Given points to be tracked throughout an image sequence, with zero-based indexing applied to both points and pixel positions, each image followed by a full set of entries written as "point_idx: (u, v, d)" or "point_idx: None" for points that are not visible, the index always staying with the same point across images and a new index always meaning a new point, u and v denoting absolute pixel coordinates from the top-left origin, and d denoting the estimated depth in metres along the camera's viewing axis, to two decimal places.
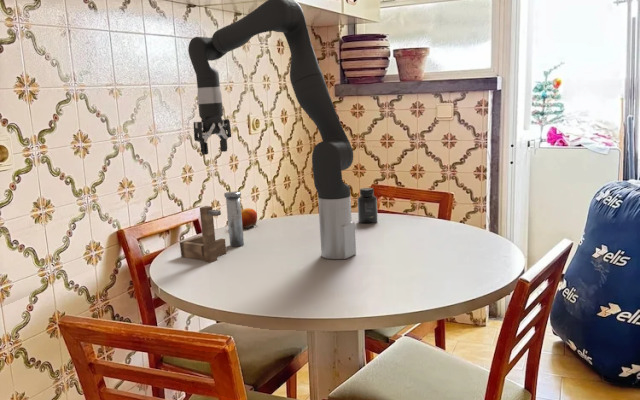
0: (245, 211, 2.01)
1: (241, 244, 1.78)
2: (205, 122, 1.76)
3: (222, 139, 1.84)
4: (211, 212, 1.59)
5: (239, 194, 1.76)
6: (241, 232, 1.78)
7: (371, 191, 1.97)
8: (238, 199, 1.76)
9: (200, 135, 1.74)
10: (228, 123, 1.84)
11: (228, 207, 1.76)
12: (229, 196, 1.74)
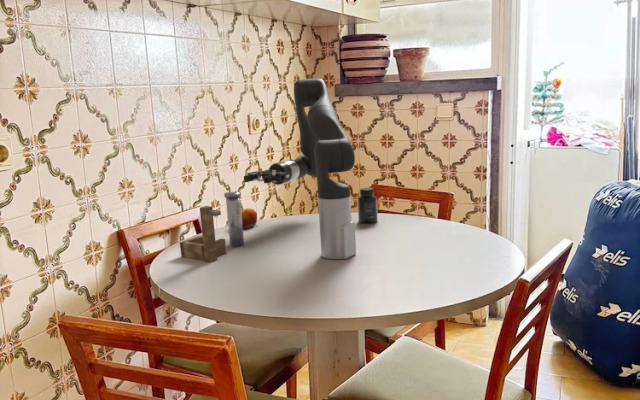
0: (245, 211, 2.01)
1: (241, 244, 1.78)
2: None
3: None
4: (211, 212, 1.59)
5: (239, 194, 1.76)
6: (241, 232, 1.78)
7: (371, 191, 1.97)
8: (238, 199, 1.76)
9: (251, 172, 1.94)
10: (285, 172, 1.89)
11: (228, 207, 1.76)
12: (229, 196, 1.74)
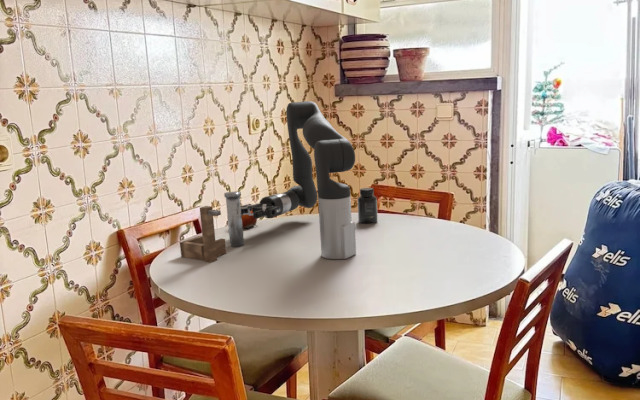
0: None
1: (241, 244, 1.78)
2: None
3: None
4: (211, 212, 1.59)
5: (239, 194, 1.76)
6: (241, 232, 1.78)
7: (371, 191, 1.97)
8: (238, 199, 1.76)
9: (241, 206, 1.90)
10: (276, 207, 1.85)
11: (228, 207, 1.76)
12: (229, 196, 1.74)
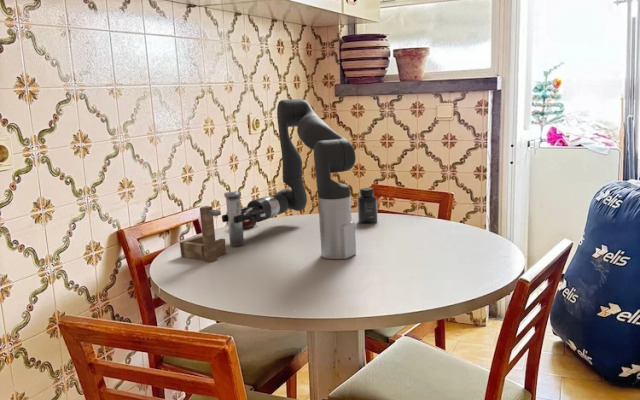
0: None
1: (241, 244, 1.78)
2: None
3: None
4: (211, 212, 1.59)
5: (239, 194, 1.76)
6: (241, 232, 1.78)
7: (371, 191, 1.97)
8: (238, 199, 1.76)
9: None
10: (260, 211, 1.79)
11: (228, 207, 1.76)
12: (229, 196, 1.74)
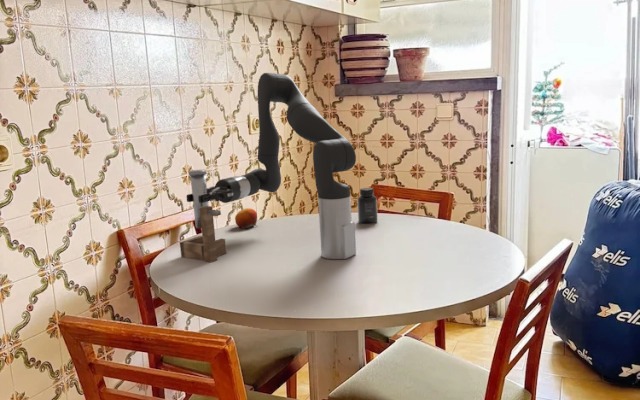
0: (245, 211, 2.01)
1: None
2: None
3: None
4: (211, 212, 1.59)
5: (204, 172, 1.65)
6: None
7: (371, 191, 1.97)
8: (203, 177, 1.66)
9: None
10: (228, 190, 1.69)
11: (193, 186, 1.66)
12: (193, 174, 1.64)
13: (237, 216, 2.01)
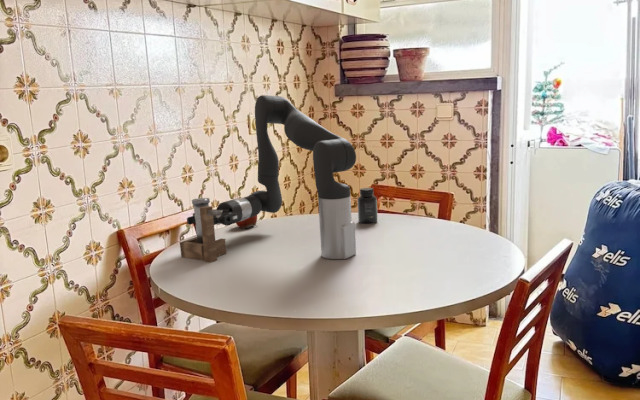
0: None
1: None
2: None
3: None
4: (211, 212, 1.59)
5: (207, 201, 1.67)
6: None
7: (371, 191, 1.97)
8: None
9: None
10: (232, 213, 1.71)
11: (196, 214, 1.67)
12: (196, 203, 1.66)
13: None
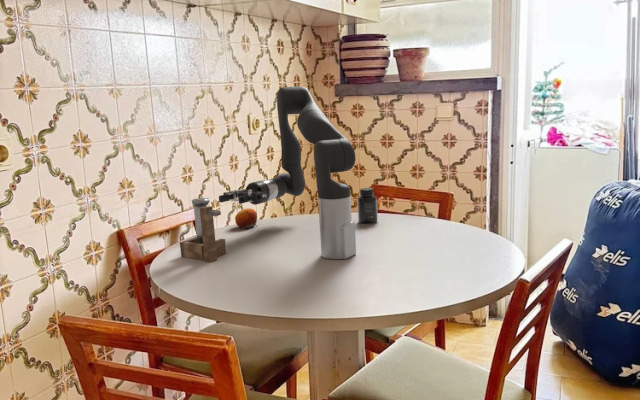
0: (245, 211, 2.01)
1: None
2: None
3: None
4: (211, 212, 1.59)
5: (207, 201, 1.67)
6: None
7: (371, 191, 1.97)
8: None
9: (227, 192, 1.87)
10: (262, 192, 1.82)
11: (196, 214, 1.67)
12: (196, 203, 1.66)
13: (237, 216, 2.01)
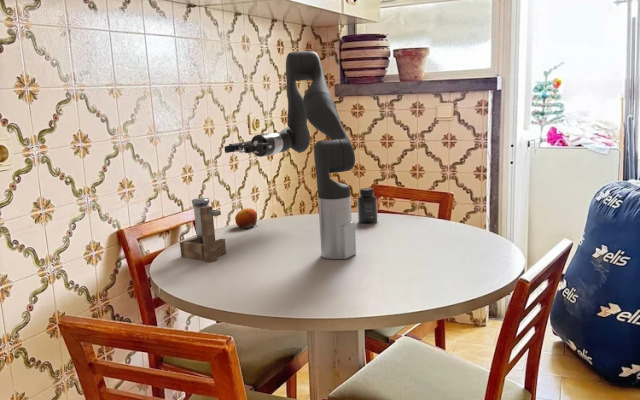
0: (245, 211, 2.01)
1: None
2: None
3: None
4: (211, 212, 1.59)
5: (207, 201, 1.67)
6: None
7: (371, 191, 1.97)
8: None
9: None
10: (267, 143, 1.83)
11: (196, 214, 1.67)
12: (196, 203, 1.66)
13: (237, 216, 2.01)
